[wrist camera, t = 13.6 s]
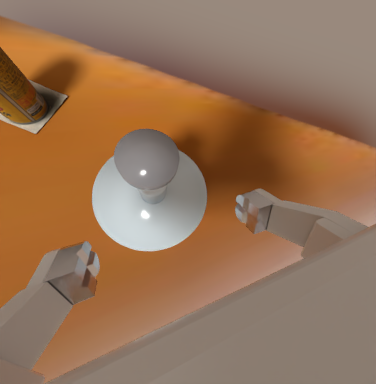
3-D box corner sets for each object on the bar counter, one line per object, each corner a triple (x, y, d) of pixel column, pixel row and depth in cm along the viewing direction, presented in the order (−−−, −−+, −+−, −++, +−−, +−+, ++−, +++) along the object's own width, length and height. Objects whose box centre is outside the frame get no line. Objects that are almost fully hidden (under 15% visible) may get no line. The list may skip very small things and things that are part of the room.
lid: (108, 269, 17) (40, 312, 7) (86, 158, 20) (17, 86, 10) (219, 228, 20) (271, 221, 11) (186, 139, 23) (204, 72, 14)
